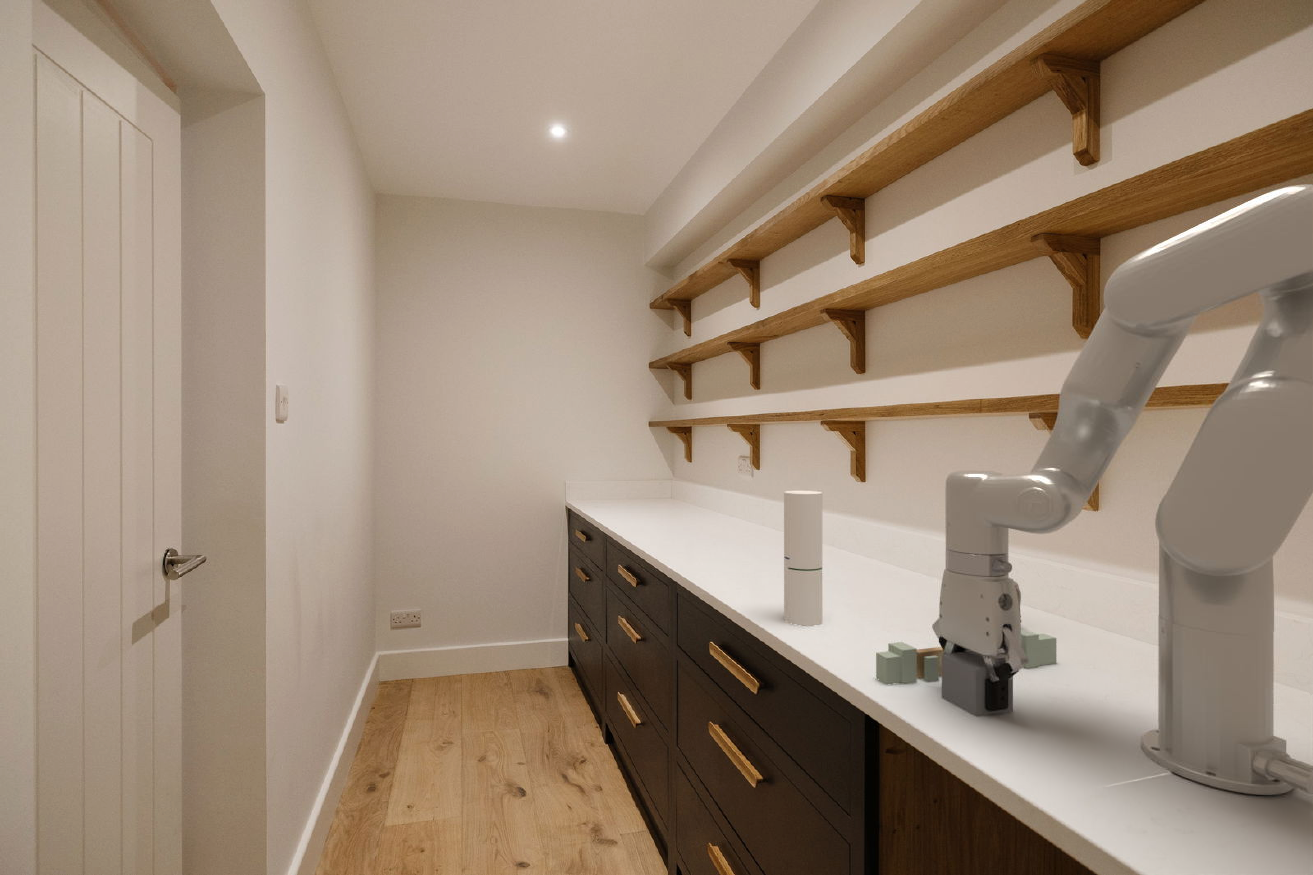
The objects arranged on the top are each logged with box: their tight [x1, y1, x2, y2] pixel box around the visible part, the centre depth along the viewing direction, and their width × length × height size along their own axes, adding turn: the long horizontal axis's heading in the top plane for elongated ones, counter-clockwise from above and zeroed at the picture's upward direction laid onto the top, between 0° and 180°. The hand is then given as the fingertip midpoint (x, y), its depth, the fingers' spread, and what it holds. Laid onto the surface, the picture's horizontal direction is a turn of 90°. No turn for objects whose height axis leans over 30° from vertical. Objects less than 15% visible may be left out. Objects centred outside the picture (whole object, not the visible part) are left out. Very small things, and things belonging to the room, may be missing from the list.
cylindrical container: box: [783, 490, 823, 627], centre depth 123 cm, size 7×7×25 cm
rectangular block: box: [941, 651, 1014, 717], centre depth 86 cm, size 6×6×6 cm
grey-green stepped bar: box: [875, 628, 1057, 685], centre depth 98 cm, size 3×31×5 cm, turn 107°
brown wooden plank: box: [917, 646, 1010, 680], centre depth 98 cm, size 18×3×5 cm, turn 107°
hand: (976, 697), depth 86 cm, fingers closed on rectangular block, 6 cm apart
